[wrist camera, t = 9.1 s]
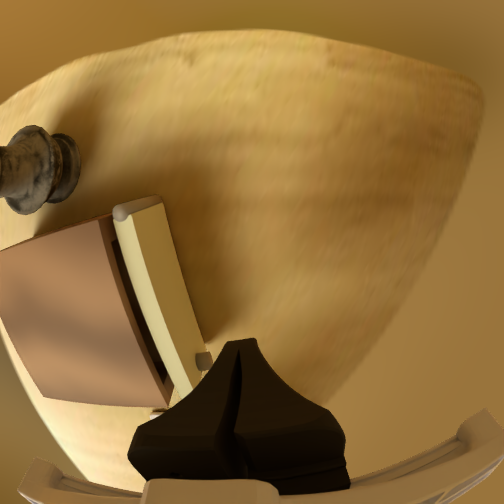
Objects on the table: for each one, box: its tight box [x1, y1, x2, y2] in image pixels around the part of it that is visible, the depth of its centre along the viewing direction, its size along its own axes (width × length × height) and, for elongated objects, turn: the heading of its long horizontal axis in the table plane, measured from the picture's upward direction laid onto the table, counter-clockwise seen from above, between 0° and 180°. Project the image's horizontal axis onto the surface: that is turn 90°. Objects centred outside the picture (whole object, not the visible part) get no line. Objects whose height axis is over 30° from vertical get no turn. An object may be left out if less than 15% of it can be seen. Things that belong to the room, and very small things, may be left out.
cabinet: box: [0, 213, 174, 407], centre depth 15 cm, size 11×11×6 cm
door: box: [112, 195, 213, 399], centre depth 15 cm, size 11×2×6 cm, turn 12°
